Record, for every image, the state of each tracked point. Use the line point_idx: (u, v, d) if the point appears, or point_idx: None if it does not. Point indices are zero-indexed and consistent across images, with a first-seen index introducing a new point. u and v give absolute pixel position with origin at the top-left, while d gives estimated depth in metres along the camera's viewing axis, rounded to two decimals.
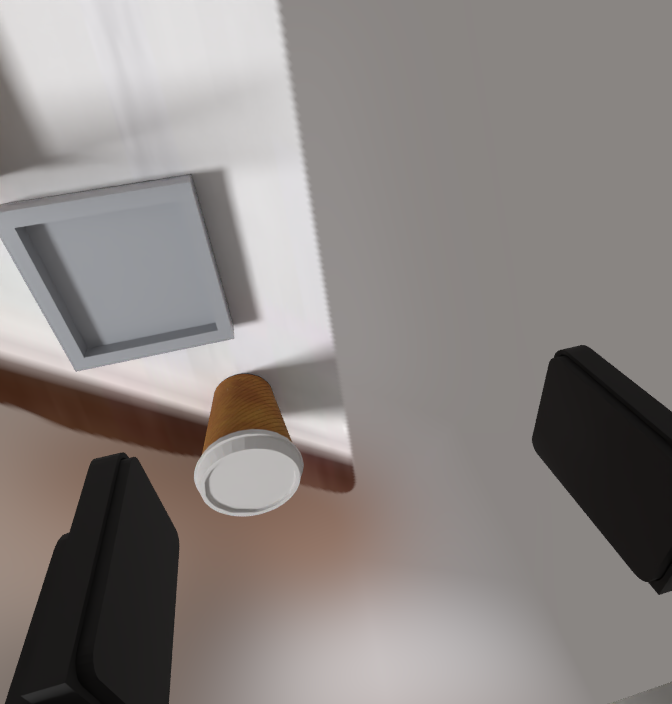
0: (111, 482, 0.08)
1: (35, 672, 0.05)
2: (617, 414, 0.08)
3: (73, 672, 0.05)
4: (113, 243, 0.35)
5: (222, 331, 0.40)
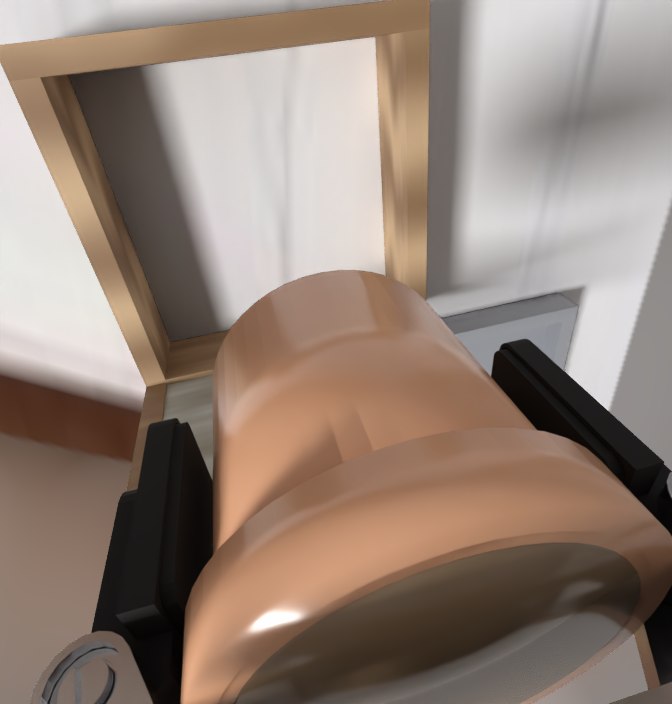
0: (170, 443, 0.08)
1: (125, 596, 0.06)
2: (547, 403, 0.09)
3: (158, 598, 0.06)
4: (480, 356, 0.37)
5: None
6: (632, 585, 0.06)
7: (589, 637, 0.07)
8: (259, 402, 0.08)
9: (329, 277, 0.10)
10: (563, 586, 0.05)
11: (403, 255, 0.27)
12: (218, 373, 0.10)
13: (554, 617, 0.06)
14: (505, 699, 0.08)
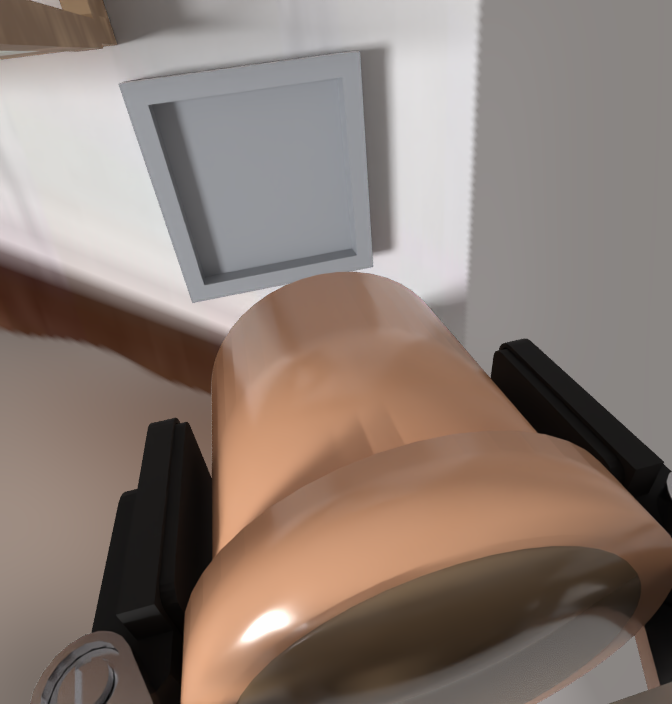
0: (170, 442, 0.08)
1: (125, 596, 0.06)
2: (547, 403, 0.09)
3: (158, 597, 0.06)
4: (252, 138, 0.29)
5: (361, 257, 0.34)
6: (633, 588, 0.06)
7: (590, 640, 0.07)
8: (258, 404, 0.08)
9: (328, 279, 0.10)
10: (564, 589, 0.05)
11: None
12: (217, 375, 0.10)
13: (555, 620, 0.06)
14: (505, 702, 0.08)
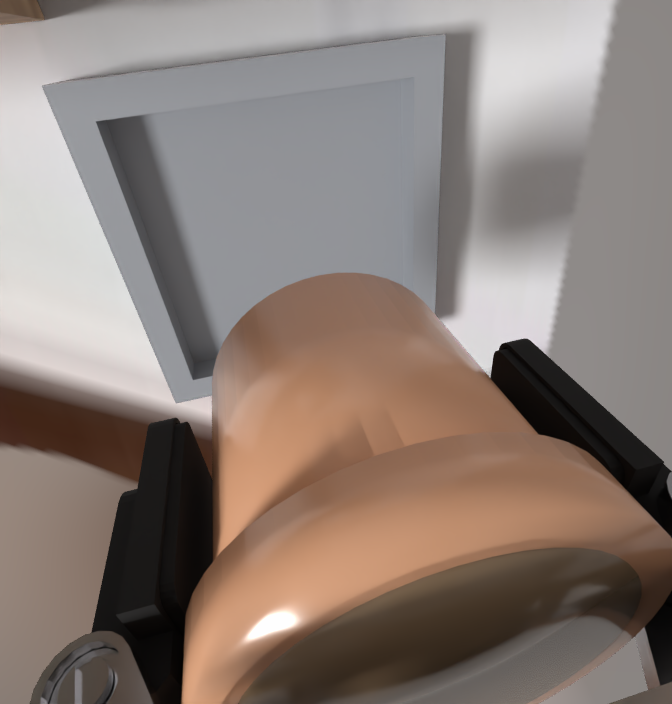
0: (170, 442, 0.08)
1: (125, 596, 0.06)
2: (547, 403, 0.09)
3: (158, 597, 0.06)
4: (266, 170, 0.19)
5: None
6: (633, 589, 0.06)
7: (590, 641, 0.07)
8: (259, 405, 0.08)
9: (328, 280, 0.10)
10: (564, 591, 0.05)
11: None
12: (217, 376, 0.10)
13: (555, 621, 0.06)
14: (506, 703, 0.08)
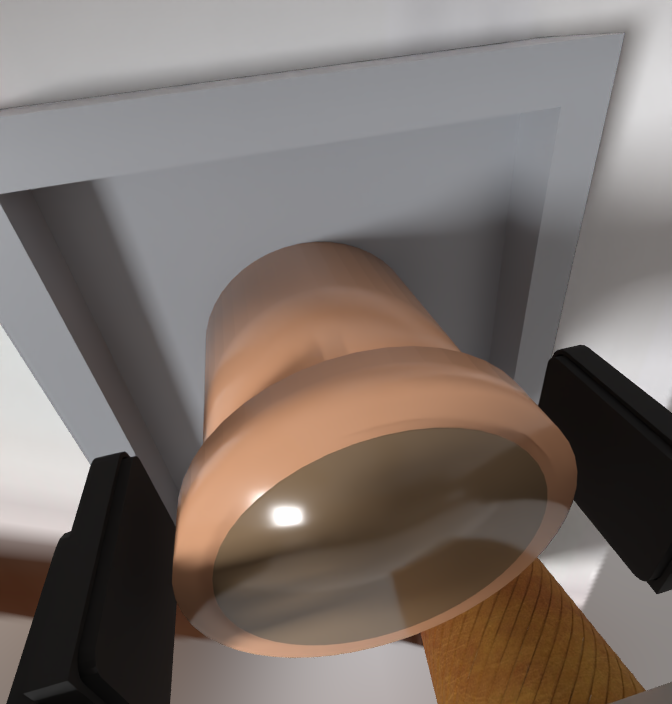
0: (112, 481, 0.08)
1: (37, 670, 0.05)
2: (615, 414, 0.08)
3: (75, 670, 0.06)
4: None
5: None
6: (538, 479, 0.07)
7: (512, 533, 0.08)
8: (241, 344, 0.09)
9: (306, 247, 0.11)
10: (476, 472, 0.07)
11: None
12: (209, 331, 0.11)
13: (476, 507, 0.08)
14: (448, 594, 0.09)
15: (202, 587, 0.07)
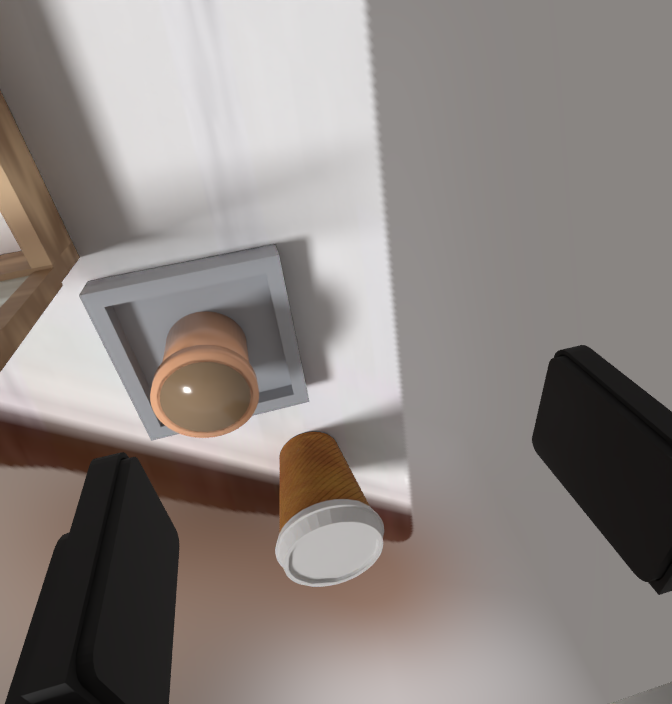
0: (111, 482, 0.08)
1: (35, 672, 0.05)
2: (617, 414, 0.08)
3: (73, 672, 0.05)
4: None
5: (298, 395, 0.39)
6: (240, 377, 0.30)
7: (242, 394, 0.31)
8: (171, 345, 0.32)
9: (197, 314, 0.34)
10: (221, 374, 0.30)
11: None
12: None
13: (227, 384, 0.30)
14: (231, 416, 0.32)
15: (157, 402, 0.30)
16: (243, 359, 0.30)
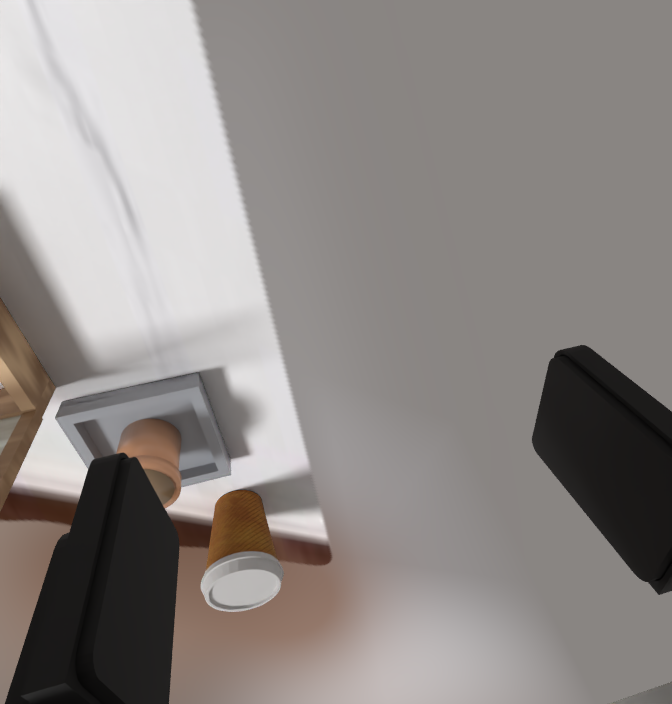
0: (111, 482, 0.08)
1: (35, 672, 0.05)
2: (617, 414, 0.08)
3: (73, 672, 0.05)
4: None
5: (221, 471, 0.53)
6: (165, 476, 0.43)
7: (168, 486, 0.44)
8: (119, 449, 0.45)
9: (141, 421, 0.47)
10: (151, 475, 0.43)
11: None
12: (119, 441, 0.47)
13: (156, 481, 0.43)
14: (161, 499, 0.45)
15: None
16: (168, 463, 0.44)
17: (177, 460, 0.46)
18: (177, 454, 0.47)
